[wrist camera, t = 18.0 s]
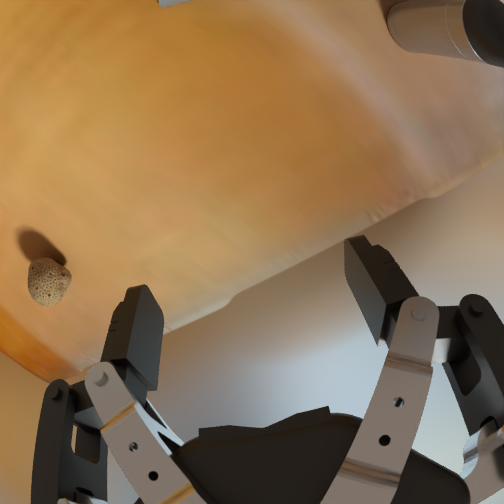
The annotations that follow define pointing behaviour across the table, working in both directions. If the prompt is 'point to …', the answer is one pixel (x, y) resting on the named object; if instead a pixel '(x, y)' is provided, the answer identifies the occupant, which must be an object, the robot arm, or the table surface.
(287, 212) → the table surface
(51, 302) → the natural sponge
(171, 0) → the tray
